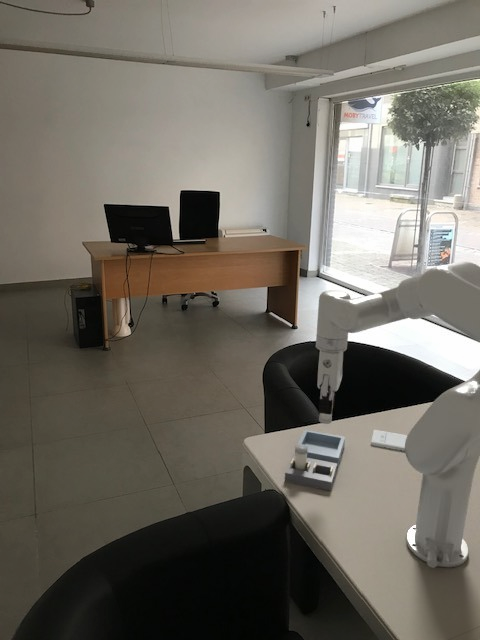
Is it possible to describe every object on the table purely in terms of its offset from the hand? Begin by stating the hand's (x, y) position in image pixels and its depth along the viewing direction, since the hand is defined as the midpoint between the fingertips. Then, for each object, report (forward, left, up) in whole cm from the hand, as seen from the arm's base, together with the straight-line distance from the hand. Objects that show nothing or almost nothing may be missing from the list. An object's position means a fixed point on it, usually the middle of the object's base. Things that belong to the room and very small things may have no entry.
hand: (326, 409), depth 133 cm
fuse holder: (-1, +3, -19) cm, 20 cm away
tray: (+11, +3, -19) cm, 22 cm away
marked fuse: (0, 0, -3) cm, 3 cm away
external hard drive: (+24, -17, -20) cm, 36 cm away
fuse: (-1, +6, -19) cm, 20 cm away
